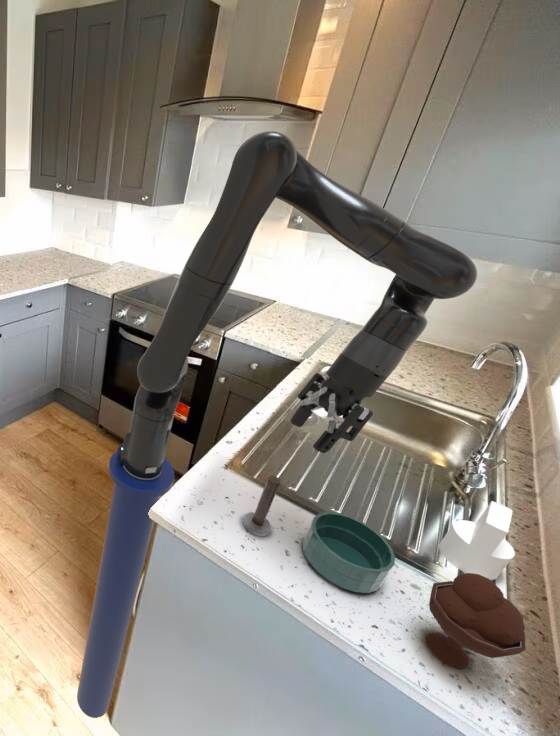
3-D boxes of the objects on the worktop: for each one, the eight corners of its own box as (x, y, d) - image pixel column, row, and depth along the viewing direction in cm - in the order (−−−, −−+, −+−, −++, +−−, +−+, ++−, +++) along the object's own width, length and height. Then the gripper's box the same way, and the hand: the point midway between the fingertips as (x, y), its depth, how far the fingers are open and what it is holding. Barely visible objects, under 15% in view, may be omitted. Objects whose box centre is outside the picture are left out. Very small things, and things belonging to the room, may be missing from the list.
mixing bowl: (294, 565, 81) (306, 541, 78) (308, 524, 91) (318, 501, 88) (377, 610, 74) (393, 586, 71) (382, 560, 84) (396, 537, 81)
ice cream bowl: (401, 650, 68) (445, 589, 62) (411, 604, 76) (452, 545, 69) (490, 707, 62) (550, 646, 55) (491, 651, 69) (545, 591, 62)
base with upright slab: (443, 533, 91) (471, 491, 85) (500, 563, 85) (534, 519, 80) (434, 556, 85) (464, 512, 80) (494, 589, 79) (531, 544, 74)
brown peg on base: (239, 527, 89) (257, 479, 83) (246, 513, 92) (264, 467, 86) (265, 541, 86) (285, 492, 80) (271, 526, 90) (291, 479, 84)
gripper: (323, 339, 78) (271, 410, 84) (373, 371, 65) (308, 452, 71) (358, 356, 79) (304, 424, 85) (414, 390, 66) (346, 468, 72)
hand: (306, 436), depth 78 cm, fingers open, 8 cm apart
